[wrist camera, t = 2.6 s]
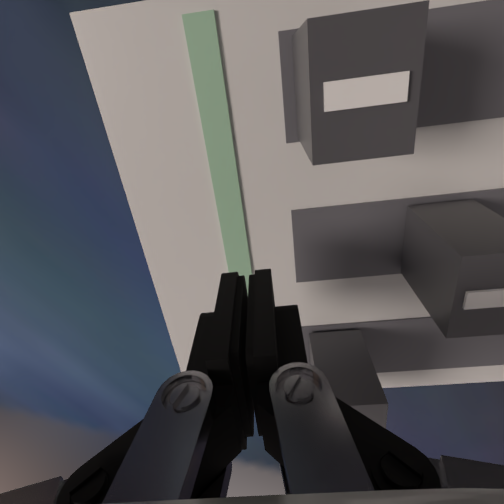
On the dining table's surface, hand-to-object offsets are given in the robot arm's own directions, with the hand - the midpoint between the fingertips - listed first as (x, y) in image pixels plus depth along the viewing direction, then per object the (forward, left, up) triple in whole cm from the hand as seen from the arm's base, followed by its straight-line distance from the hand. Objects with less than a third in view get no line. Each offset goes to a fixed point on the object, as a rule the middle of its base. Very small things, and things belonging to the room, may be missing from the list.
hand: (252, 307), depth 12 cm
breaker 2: (-3, +6, -3) cm, 7 cm away
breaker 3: (-7, 0, -3) cm, 8 cm away
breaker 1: (-3, -6, -3) cm, 8 cm away
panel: (-7, 0, -5) cm, 9 cm away
